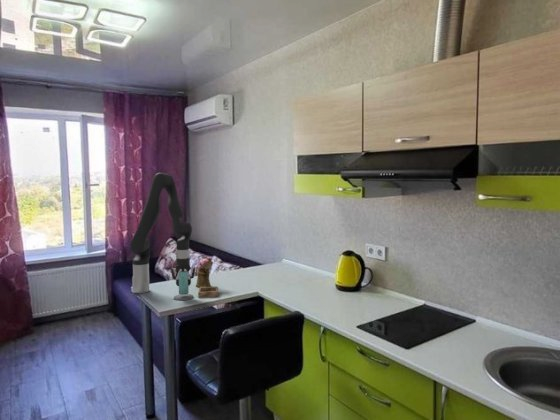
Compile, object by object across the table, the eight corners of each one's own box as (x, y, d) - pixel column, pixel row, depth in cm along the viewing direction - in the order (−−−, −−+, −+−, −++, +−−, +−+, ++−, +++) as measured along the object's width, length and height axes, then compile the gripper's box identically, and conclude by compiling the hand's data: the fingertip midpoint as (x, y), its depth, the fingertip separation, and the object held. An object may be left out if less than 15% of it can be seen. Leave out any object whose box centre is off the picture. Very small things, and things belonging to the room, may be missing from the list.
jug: (179, 291, 228) (178, 270, 227) (189, 291, 229) (188, 269, 228) (177, 296, 220) (177, 273, 219) (187, 295, 221) (187, 273, 220)
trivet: (172, 300, 220) (172, 299, 220) (175, 295, 231) (175, 294, 231) (192, 300, 221) (192, 299, 221) (194, 294, 232) (194, 293, 232)
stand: (198, 297, 227) (198, 292, 226) (199, 291, 238) (199, 287, 237) (217, 296, 228) (217, 291, 228) (217, 291, 239) (217, 286, 239)
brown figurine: (204, 290, 241) (204, 261, 240) (193, 285, 251) (193, 258, 250) (216, 287, 247) (216, 259, 246) (205, 283, 257) (205, 256, 256)
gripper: (196, 255, 229) (196, 283, 230) (171, 255, 227) (171, 284, 228) (195, 257, 221) (195, 286, 223) (169, 258, 220) (169, 287, 221)
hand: (183, 285), depth 226 cm, fingers closed on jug, 5 cm apart
